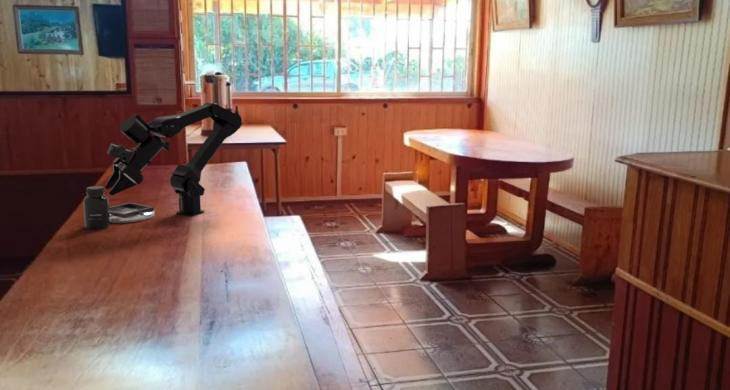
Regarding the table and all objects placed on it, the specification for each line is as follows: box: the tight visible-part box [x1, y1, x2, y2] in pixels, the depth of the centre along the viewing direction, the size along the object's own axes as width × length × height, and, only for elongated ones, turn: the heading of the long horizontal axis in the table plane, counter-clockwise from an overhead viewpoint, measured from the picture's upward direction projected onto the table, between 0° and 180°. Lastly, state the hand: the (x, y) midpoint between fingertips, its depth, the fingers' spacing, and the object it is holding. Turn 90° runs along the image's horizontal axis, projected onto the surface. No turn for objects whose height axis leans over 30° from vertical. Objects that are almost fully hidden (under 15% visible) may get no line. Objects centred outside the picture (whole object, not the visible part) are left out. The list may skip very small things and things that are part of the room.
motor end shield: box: [109, 202, 155, 224], centre depth 197 cm, size 16×16×3 cm
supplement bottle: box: [82, 185, 111, 231], centre depth 183 cm, size 7×7×12 cm
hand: (108, 191), depth 184 cm, fingers open, 9 cm apart
